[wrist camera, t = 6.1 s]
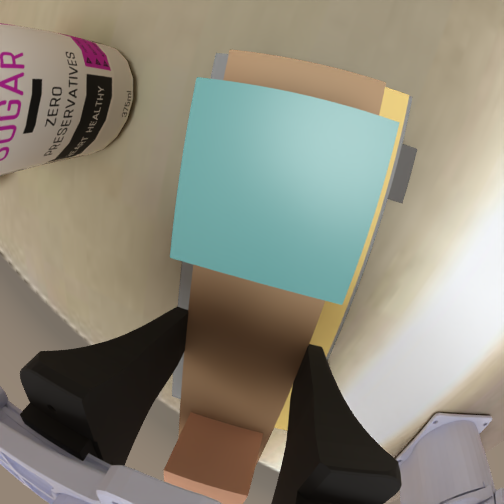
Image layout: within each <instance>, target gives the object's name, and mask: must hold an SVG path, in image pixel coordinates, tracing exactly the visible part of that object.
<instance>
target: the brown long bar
mask: <svg viewBox="0 0 504 504" xmlns="http://www.w3.org/2000/svg"><path fill="white" fill-rule="evenodd" d="M223 80H224V81H232V82H239V83H245V84H251V85H257V86H263V87H268V88H274V89H279V90H284V91H289V92H293V93H298V94H302V95H307V96H311V97H315V98H319V99H323V100H327V101H331V102H335V103H338V104H342V105H346V106H349V107H353V108H356V109H360V110H363V111H366V112H369V113H373V114H376V115H379V113H380V109H381V104H382V99H383V95H384V90H385V85H386V82H383V81H380V80H376V79H373V78H370V77H367V76H363V75H360V74H356V73H353V72H349V71H345V70H341V69H338V68H334V67H329V66H325V65H321V64H316V63H312V62H307V61H302V60H297V59H292V58H287V57H281V56H275V55H269V54H262V53H255V52H247V51H239V50H230V51H229V56H228V60H227V65H226V70H225V74H224V79H223ZM324 303H325V300H321V299H317V298H313V297H309V296H305V295H302V294H298V293H294V292H290V291H287V290H283V289H279V288H276V287H272V286H268V285H265V284H261V283H257V282H254V281H250V280H246V279H243V278H239V277H236V276H232V275H228V274H225V273H221V272H218V271H214V270H211V269H207V268H204V267H200V266H197V265H193V272H192V281H191V289H190V298H189V308H188V312H189V313H188V323H187V333H186V344H185V351H184V361H183V374H182V388H181V403H180V420H179V436H180V434H181V432H182V430H183V428H184V426H185V423H186V421H187V419H188V417H189V415H190V413H191V412H192V413H195V414H198V415H201V416H204V417H207V418H210V419H213V420H217V421H220V422H223V423H227V424H230V425H233V426H237V427H241V428H244V429H248V430H252V431H256V432H260V433H263V437H262V441H261V445H260V449H259V454H258V458H257V462H258V460H259V458H260V456H261V454H262V452H263V450H264V448H265V446H266V444H267V442H268V439H269V437H270V435H271V433H272V431H273V429H274V426H275V424H276V422H277V420H278V418H279V415H280V413H281V411H282V409H283V406H284V404H285V402H286V400H287V397H288V395H289V393H290V390H291V388H292V385H293V382H294V379H295V377H296V374H297V372H298V370H299V367H300V365H301V362H302V360H303V357H304V355H305V352H306V350H307V347H308V346H309V343H310V341H311V338H312V336H313V333H314V330H315V328H316V325H317V322H318V320H319V317H320V314H321V312H322V309H323V306H324ZM257 462H256V464H257Z"/></svg>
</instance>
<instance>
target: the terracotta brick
mask: <svg viewBox="0 0 504 504" xmlns="http://www.w3.org/2000/svg"><path fill="white" fill-rule="evenodd" d="M262 437H263V433H260V432H256V431H252V430H248V429H244V428H241V427H237V426H233V425H230V424H227V423H223V422H220V421H217V420H213V419H210V418H207V417H204V416H201V415H198V414H195V413H192V412H191V413H190V415H189V417H188V419H187V421H186V423H185V426H184V428H183V430H182V432H181V434H180V436H179V439H178V441H177V443H176V445H175V447H174V449H173V451H172V454H171V456H170V458H169V460H168V462H167V464H166V466H165V469H164V482H167V483H170V484H172V485H175V486H178V487H181V488H184V489H186V490H189V491H193V492H196V493H199V494H202V495H205V496H207V497H210V498H212V499H215V500H217V501H219V502H221V503H222V504H243V503H244V501H245V500H246V498H247V496H248V493H249V489H250V485H251V482H252V478H253V474H254V470H255V466H256V462H257V458H258V454H259V449H260V445H261V441H262Z"/></svg>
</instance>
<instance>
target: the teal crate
mask: <svg viewBox="0 0 504 504" xmlns="http://www.w3.org/2000/svg"><path fill="white" fill-rule="evenodd" d="M398 127H399V122H397V121H394V120H391V119H388V118H385V117H382V116H379V115H376V114H373V113H369V112H366V111H363V110H360V109H356V108H353V107H349V106H346V105H342V104H338V103H335V102H331V101H327V100H323V99H319V98H315V97H311V96H307V95H302V94H298V93H293V92H289V91H284V90H279V89H274V88H268V87H263V86H257V85H251V84H245V83H239V82H232V81H224V80H217V79H208V78H199V77H197V79H196V84H195V89H194V94H193V99H192V104H191V109H190V115H189V120H188V126H187V132H186V138H185V144H184V150H183V156H182V163H181V170H180V176H179V184H178V191H177V199H176V206H175V215H174V223H173V232H172V241H171V251H170V258H173V259H176V260H180V261H183V262H187V263H190V264H193V265H197V266H200V267H204V268H207V269H211V270H214V271H218V272H221V273H225V274H228V275H232V276H236V277H239V278H243V279H246V280H250V281H254V282H257V283H261V284H265V285H268V286H272V287H276V288H279V289H283V290H287V291H290V292H294V293H298V294H302V295H305V296H309V297H313V298H317V299H321V300H325V301H328V302H332V303H336V304H340V305H342V304H343V302H344V299H345V296H346V294H347V291H348V289H349V286H350V283H351V281H352V278H353V275H354V273H355V270H356V267H357V264H358V262H359V259H360V256H361V253H362V250H363V247H364V244H365V241H366V238H367V235H368V232H369V229H370V226H371V223H372V220H373V217H374V214H375V211H376V207H377V204H378V201H379V198H380V194H381V191H382V187H383V184H384V180H385V177H386V173H387V170H388V166H389V162H390V159H391V155H392V151H393V147H394V143H395V139H396V135H397V131H398Z"/></svg>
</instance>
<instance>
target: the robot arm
mask: <svg viewBox="0 0 504 504" xmlns="http://www.w3.org/2000/svg"><path fill="white" fill-rule="evenodd" d="M188 313H189V312H188V310H186V309H183V308H180V307H176V308H174V309H172V310H170V311H169V312H167V313H165V314H164V315H162V316H160V317H158V318H157V319H155V320H153V321H151V322H149V323H148V324H146V325H144V326H142V327H140V328H138V329H136V330H134V331H132V332H129V333H127V334H125V335H123V336H120V337H117V338H115V339H112V340H109V341H106V342H102V343H98V344H95V345H91V346H87V347H81V348H76V349H69V350H59V351H41V352H39V353H38V354H37V355H36V356H35V357H34V358H33V359H32V360H31V361H30V362H29V363H27V364H26V366H24V367H23V368H22V369H21V371H20V379H21V382H22V385H23V387H24V390H25V392H26V394H27V397H28V399H29V401H30V404H29V405H28V406H27V407H26V408H25V409H24V410H23V411H21V410H20V409H19V408H17V407H16V406H15V405H13V404H12V403H11V402H9V401H8V397H7V395H6V393H5V391H4V390H3V389H2V387H1V386H0V464H1V465H2V466H3V467H4V468H5V469H7V470H8V471H9V472H10V473H11V474H13V475H14V476H15V477H16V478H17V479H18V480H20V481H21V482H22V483H23V484H25V485H26V486H27V487H28V488H30V489H31V490H32V491H33V492H35V493H36V494H37V495H39V496H40V497H41V498H43V499H44V500H46V501H47V502H48V503H50V504H222V503H221V502H219V501H217V500H215V499H212V498H210V497H207V496H205V495H202V494H199V493H196V492H193V491H189V490H186V489H184V488H181V487H178V486H175V485H172V484H170V483H167V482H164V481H162V480H159V479H156V478H154V477H152V476H149V475H147V474H144V473H142V472H140V471H137V470H135V469H132V468H129V467H126V466H124V465H125V463H126V460H127V457H128V455H129V453H130V450H131V448H132V446H133V443H134V441H135V439H136V437H137V434H138V432H139V430H140V428H141V426H142V424H143V421H144V420H145V418H146V416H147V414H148V411H149V410H150V408H151V406H152V404H153V402H154V401H155V399H156V398H157V396H158V395H159V393H160V392H161V390H162V388H163V387H164V385H165V384H166V382H167V381H168V379H169V378H170V376H171V375H172V373H173V372H174V370H175V369H176V367H177V366H178V364H179V362H180V360H181V358H182V356H183V353H184V351H185V344H186V333H187V323H188ZM491 420H492V417H491V416H485V415H462V414H447V413H437V414H435V415H434V416H433V417H432V418H431V419H430V421H429V422H428V423H427V424H426V425H425V427H424V428H423V429H422V430H421V431H420V433H419V434H418V435H417V436H416V437H415V438H414V439H413V440H412V442H411V443H410V444H409V445H408V446H407V447H406V448H405V449H404V450H403V451H402V452H401V454H400V455H399V456H398V457H397V458H396V459H395V458H393V457H392V456H391V455H390V454H389V453H387V452H386V451H385V450H384V449H383V448H382V447H381V446H380V445H379V444H378V443H377V442H376V441H375V440H374V439H373V438H372V437H371V436H370V435H369V434H368V433H367V431H366V430H365V429H364V428H363V426H362V425H361V424H360V423H359V421H358V420H357V419H356V417H355V416H354V414H353V413H352V411H351V410H350V408H349V407H348V405H347V403H346V401H345V400H344V398H343V396H342V394H341V392H340V390H339V388H338V386H337V384H336V381H335V379H334V377H333V375H332V372H331V370H330V367H329V364H328V362H327V359H326V356H325V353H324V350H323V348H322V347H321V346H316V345H312V344H309V346H308V347H307V350H306V352H305V355H304V357H303V360H302V362H301V365H300V367H299V370H298V372H297V374H296V377H295V379H294V382H293V387H292V392H291V397H290V408H289V419H288V431H287V441H286V448H285V452H284V457H283V461H282V466H281V470H280V474H279V478H278V482H277V486H276V489H275V493H274V497H273V500H272V504H384V503H385V502H386V501H387V500H389V499H390V498H391V497H393V496H394V495H395V494H396V493H397V492H398V491H399V490H400V500H401V501H400V502H401V504H504V489H503V488H500V489H498V490H496V489H495V487H494V483H493V480H492V475H491V472H490V468H489V464H488V461H487V457H486V454H485V451H484V448H483V444H482V441H481V438H480V435H479V434H480V433H481V432H482V431H483V430H484V428H485V427H486V426H487V425H488V424H489V423H490V422H491Z"/></svg>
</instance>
